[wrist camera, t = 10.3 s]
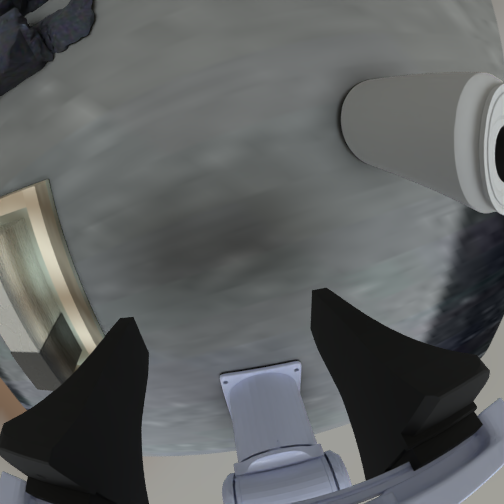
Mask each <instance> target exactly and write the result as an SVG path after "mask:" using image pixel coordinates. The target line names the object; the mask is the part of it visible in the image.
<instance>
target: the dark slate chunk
mask: <svg viewBox="0 0 504 504" xmlns="http://www.w3.org/2000/svg"><path fill="white" fill-rule="evenodd" d="M47 1H48V0H0V96H1V95H3V94H5V93H6V92H8V91H9V90H11V89H12V88H14V87H16V86H17V85H18V84H19V83H21V82H22V81H24V80H25V79H27V78H28V77H30V76H32V75H33V74H35V73H36V72H38V71H40V70H41V69H42V68H43V67H44V66H45V63H46V61H52V60H53V55H54V53H59V52H62V51H64V50H66V49H67V48H68V45H69V44H71V43H74V42H76V41H78V40H79V39H80V38H81V37H85V36H87V35H88V33H89V31H90V28H91V26H92V24H93V22H94V12H93V11H92V9H91V6H92V0H71V1H70V2H69V4H68V5H67V6H66V7H65V8H64V9H60V10H58V11H56V12H55V13H53V14H51V15H49V16H47V17H46V18H45V19H43V20H42V21H40V22H38V23H37V24H36V25H33V26H32V27H30V26H29V24H28V23H27V19H26V18H24V16H25V15H26V14H27V13H29V12H33V11H35V10H36V9H37V8H39V7H40V6H42V5H43V4H44V3H46V2H47ZM28 26H29V27H28ZM53 46H54V50H53ZM50 50H52V51H51V52H50Z"/></svg>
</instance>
